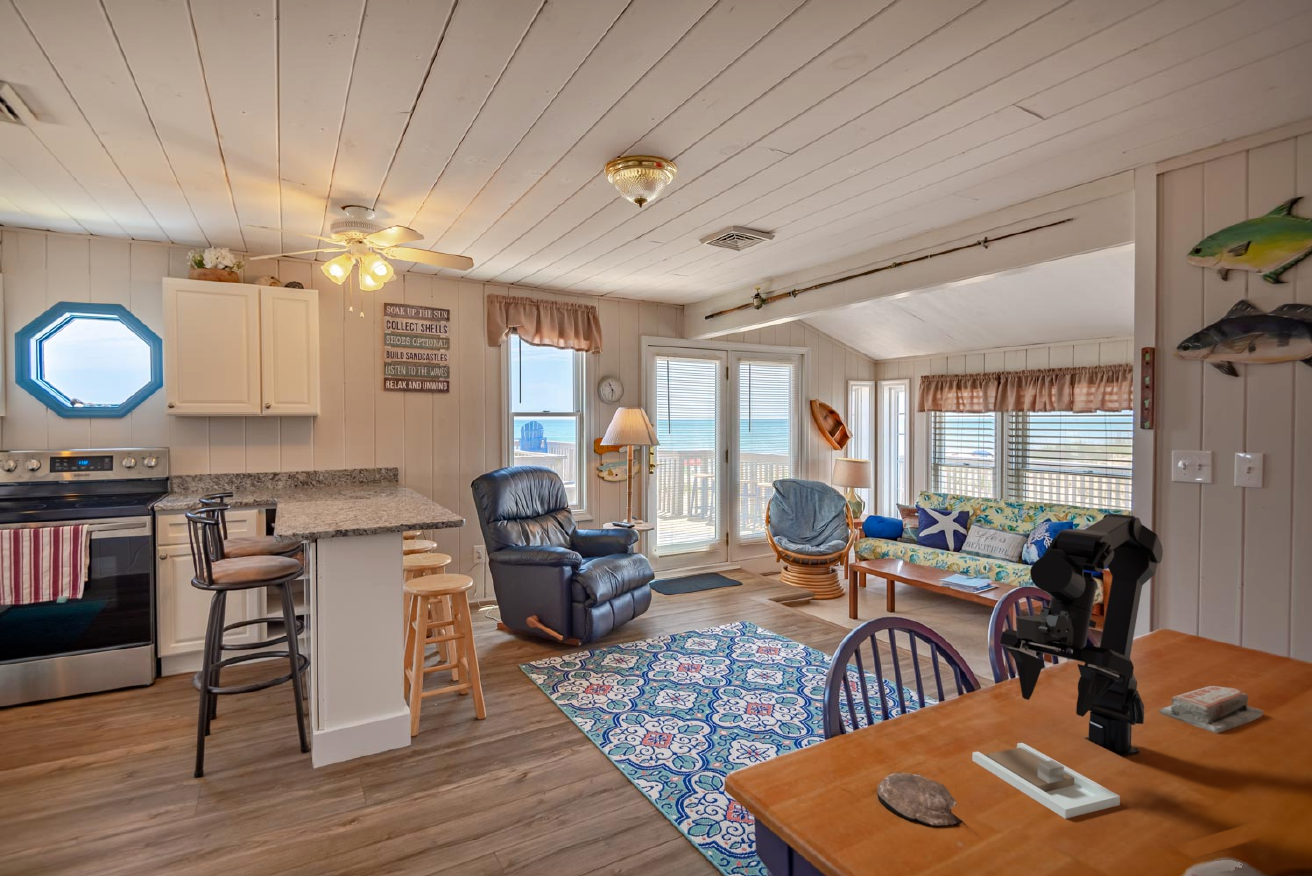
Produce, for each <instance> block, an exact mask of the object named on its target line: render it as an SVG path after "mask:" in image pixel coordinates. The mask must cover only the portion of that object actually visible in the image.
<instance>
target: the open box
mask: <svg viewBox="0 0 1312 876" xmlns="http://www.w3.org/2000/svg"><path fill="white" fill-rule="evenodd" d="M1016 748H1022V749H1024V750H1025V751H1027V752H1029V753H1031V754H1033V755H1034V756H1036V757H1038V758H1040V759H1041V760H1043V761H1050V760H1053V761H1055V762H1057V763H1059V764H1061V765H1062V766H1064V772H1065V773H1067V774H1068V775H1070V776H1072V777H1074V785H1073V786H1069V787H1065V788H1060V789H1056V790H1052V791H1047V792H1044V791H1043V790H1041V789H1039V788H1038V787H1036V786H1034V785H1033V784H1031V783H1029V782H1028V781H1026V780H1025V779H1023V778H1021V777H1020V776H1018V775H1016V774H1015V773H1013V772H1011V771H1010V770H1008V769H1006V768H1005V767H1003V766H1001V765H1000V764H998V763H996V762H995V761H993V760H992V759H990V758H988V757H987V756H985V755H984V754H983V753H981V752H980V751H973V752H971V753H972V762H974V763H975V764H977V765H978V766H980V767H982V768H983V769H985V770H986V771H988V772H990V773H992V774H993V775H995V776H996V777H998V778H1000V779H1001V780H1002V781H1004V782H1006V783H1008V784H1009V785H1010V786H1012V787H1014V788H1015V789H1017V790H1018V791H1020V792H1022V793H1023V794H1025V795H1027V796H1028V797H1030V798H1031V799H1033V800H1035V802H1037V803H1039V804H1041V805H1043V806H1045V807H1046V808H1047V809H1049V810H1050V811H1052V812H1054V813H1055V814H1057V815H1058V816H1060V817H1062V818H1063V819H1064V820H1066V819H1071V818H1075V817H1077V816H1082V815H1086V814H1090V813H1094V812H1097V811H1101V810H1105V809H1110V808H1113V807H1117V806H1120V805H1121V795H1119V794H1117V793H1116V792H1113V791H1112V790H1110V789H1108V788H1106V787H1104V786H1102V785H1101V784H1099V783H1097V782H1095V781H1093V780H1091V779H1089V778H1088V777H1086V776H1084V775H1083V774H1081V773H1079V772H1077V771H1075V770H1073V769H1071V768H1070V767H1067V766H1066V765H1064V764H1062V763H1061V762H1059V761H1057V760H1055V759H1053V758H1051V757H1049V756H1048V755H1046V754H1044V753H1042V752H1040V751H1038V749H1037V750H1036V749H1035V748H1034V747H1032V746H1030V745H1027V744H1026V743H1023V742H1018V743H1017V744H1016Z"/></svg>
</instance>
